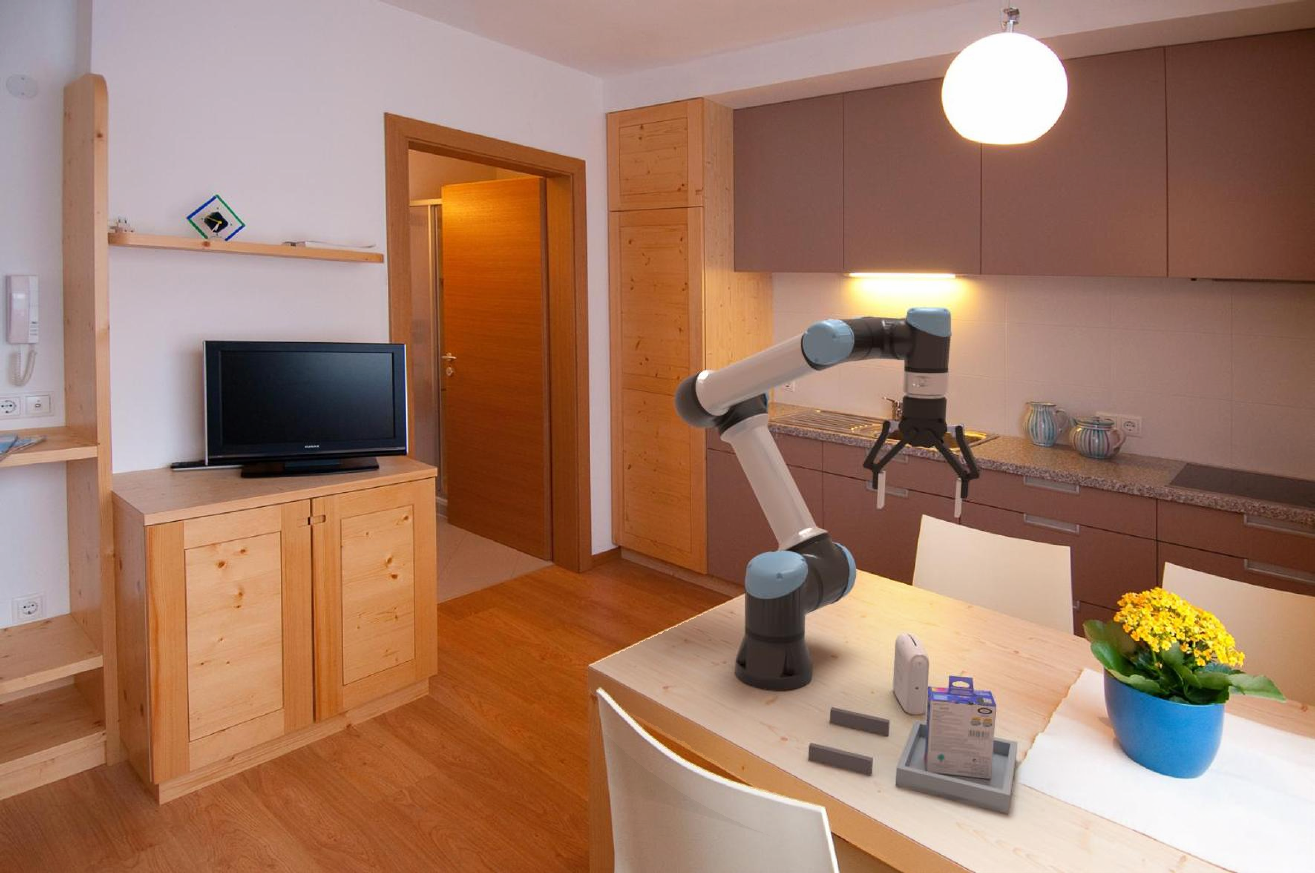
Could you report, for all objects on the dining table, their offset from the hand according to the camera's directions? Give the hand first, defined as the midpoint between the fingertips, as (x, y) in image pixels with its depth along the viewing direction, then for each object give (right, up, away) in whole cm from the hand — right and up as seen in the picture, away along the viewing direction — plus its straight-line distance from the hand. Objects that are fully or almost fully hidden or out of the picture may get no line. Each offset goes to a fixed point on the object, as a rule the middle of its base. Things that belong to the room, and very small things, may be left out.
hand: (918, 511), depth 154 cm
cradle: (-16, -38, -14) cm, 43 cm away
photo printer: (-1, -35, +1) cm, 35 cm away
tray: (0, -39, -21) cm, 44 cm away
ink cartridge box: (0, -39, -21) cm, 44 cm away
